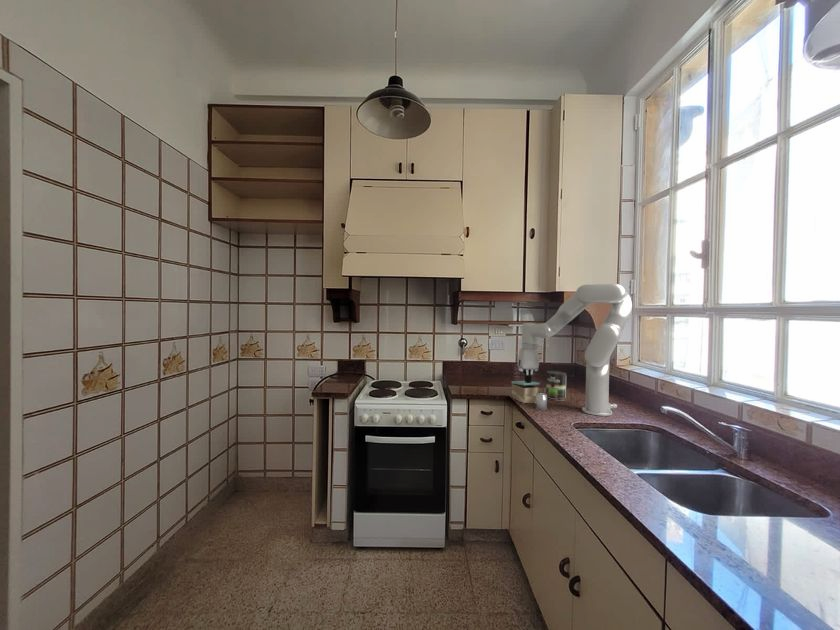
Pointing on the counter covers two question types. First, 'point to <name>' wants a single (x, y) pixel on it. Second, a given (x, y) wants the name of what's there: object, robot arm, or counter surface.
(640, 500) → the counter surface
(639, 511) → the counter surface
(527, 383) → the lid
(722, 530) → the counter surface
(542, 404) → the steel weight
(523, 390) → the box
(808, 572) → the counter surface
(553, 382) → the glass terrarium
